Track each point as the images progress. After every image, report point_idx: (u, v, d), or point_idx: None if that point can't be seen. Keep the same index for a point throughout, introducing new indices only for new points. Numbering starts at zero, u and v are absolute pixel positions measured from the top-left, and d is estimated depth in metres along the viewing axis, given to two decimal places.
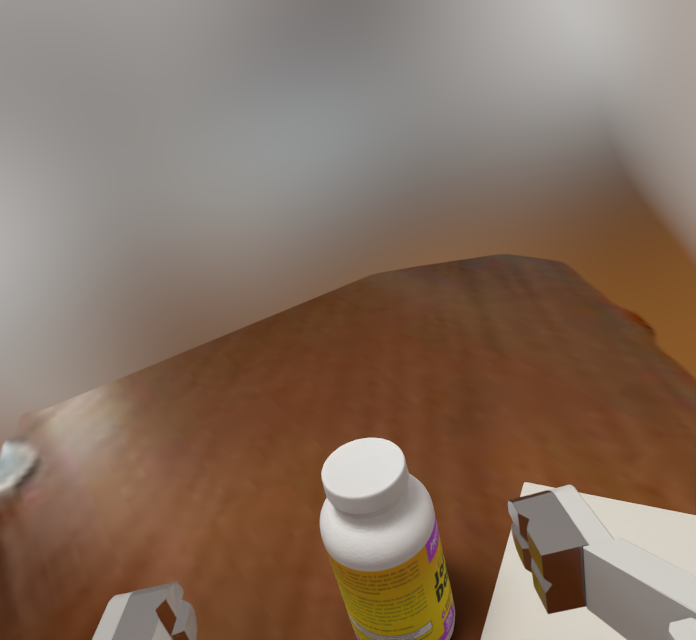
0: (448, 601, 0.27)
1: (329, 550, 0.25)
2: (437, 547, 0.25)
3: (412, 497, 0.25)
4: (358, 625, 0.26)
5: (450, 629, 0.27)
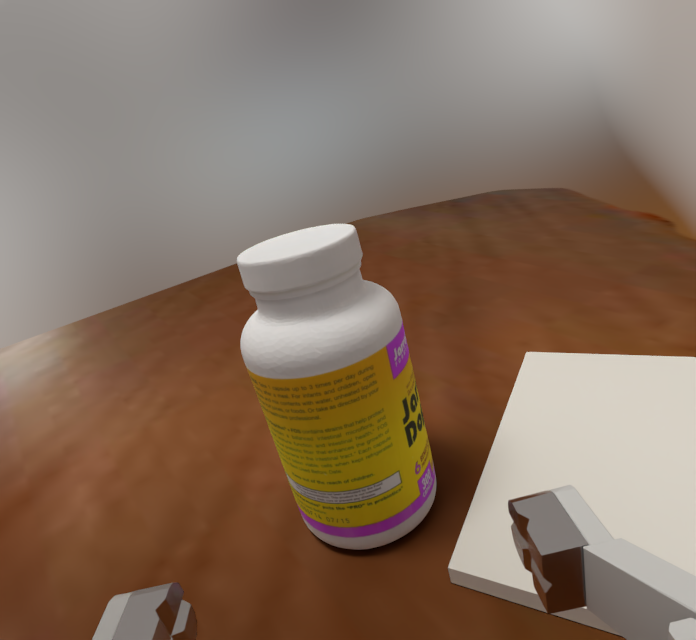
0: (425, 454, 0.19)
1: (249, 363, 0.17)
2: (406, 365, 0.18)
3: (368, 290, 0.18)
4: (298, 486, 0.19)
5: (429, 496, 0.20)
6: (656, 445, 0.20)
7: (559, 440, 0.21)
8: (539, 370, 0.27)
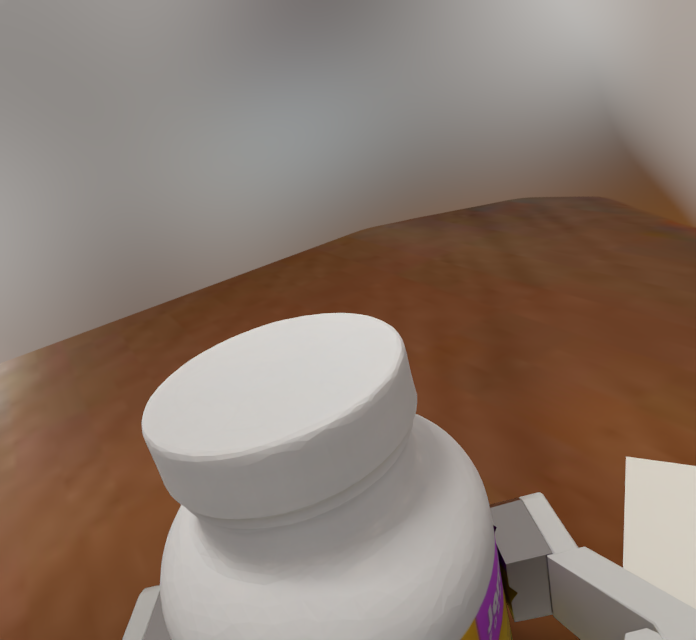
0: None
1: (170, 635, 0.08)
2: (503, 615, 0.09)
3: (427, 467, 0.08)
4: None
5: None
6: None
7: None
8: (658, 498, 0.17)
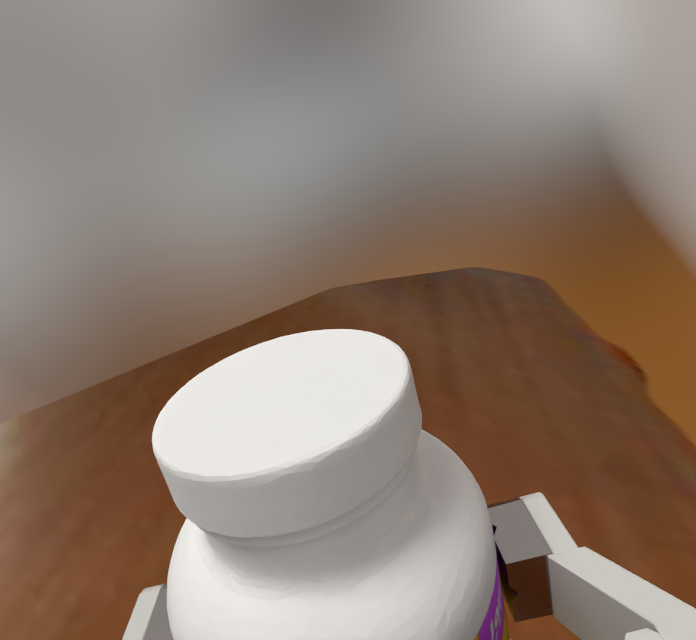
0: None
1: None
2: (503, 628, 0.09)
3: (431, 483, 0.09)
4: None
5: None
6: None
7: None
8: None
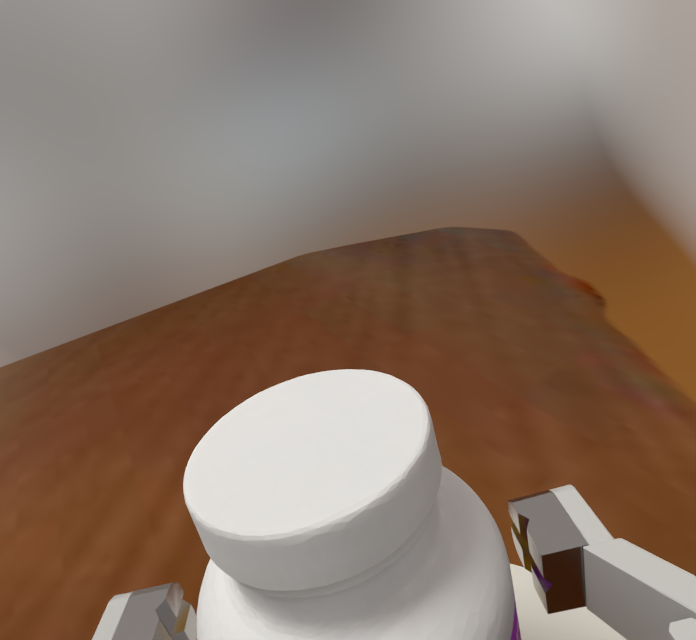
0: None
1: None
2: None
3: (451, 525, 0.09)
4: None
5: None
6: None
7: None
8: None
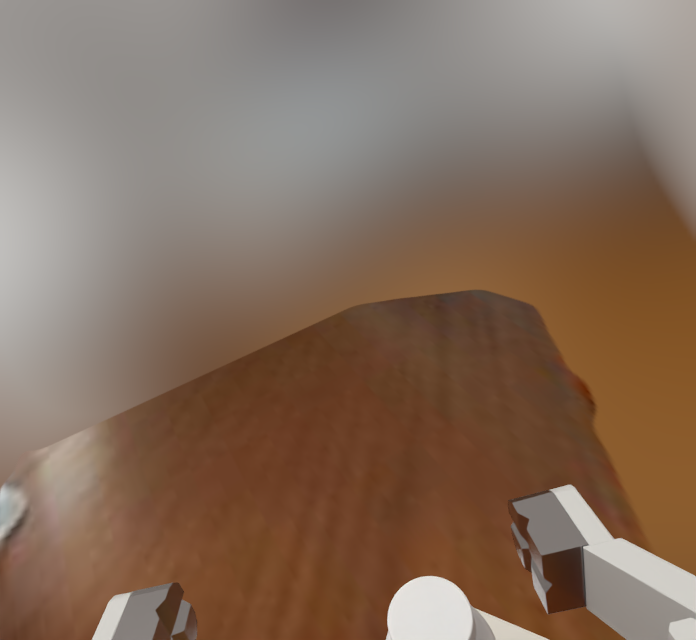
0: None
1: None
2: None
3: None
4: None
5: None
6: None
7: None
8: None
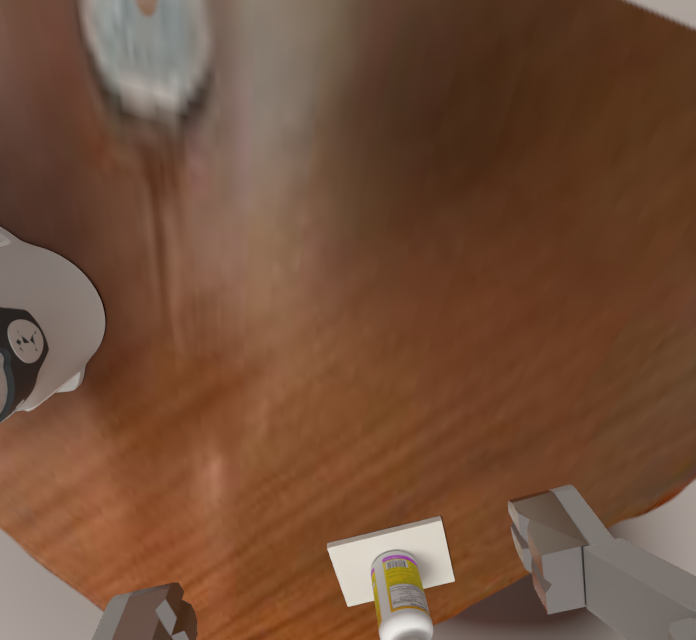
0: None
1: (380, 630, 0.55)
2: None
3: None
4: (373, 589, 0.61)
5: None
6: None
7: (387, 549, 0.63)
8: (427, 529, 0.62)
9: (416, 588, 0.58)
